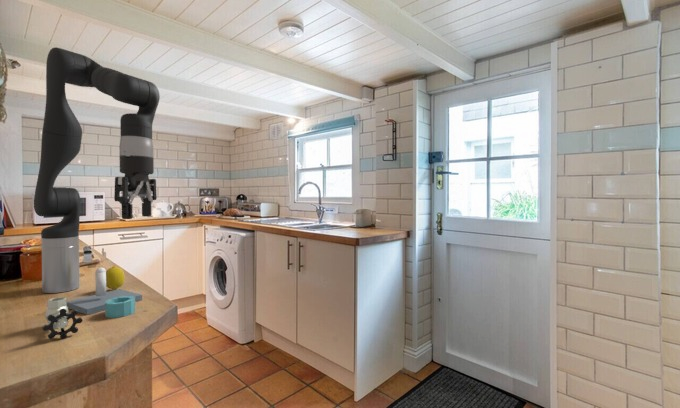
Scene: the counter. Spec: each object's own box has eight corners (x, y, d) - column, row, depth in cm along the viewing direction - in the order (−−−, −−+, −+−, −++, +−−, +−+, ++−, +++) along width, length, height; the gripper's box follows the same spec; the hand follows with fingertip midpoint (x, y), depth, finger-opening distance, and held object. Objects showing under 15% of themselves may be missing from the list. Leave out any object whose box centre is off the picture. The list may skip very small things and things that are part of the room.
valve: (37, 328, 76) (43, 344, 68) (36, 300, 76) (42, 313, 68) (73, 320, 81) (82, 334, 73) (73, 294, 81) (82, 305, 72)
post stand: (65, 307, 90) (64, 269, 89) (119, 293, 102) (119, 260, 102) (87, 315, 84) (86, 274, 84) (142, 299, 96) (141, 264, 96)
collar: (100, 314, 84) (100, 301, 84) (126, 307, 90) (126, 294, 90) (113, 319, 81) (113, 305, 81) (140, 311, 87) (140, 298, 87)
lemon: (114, 293, 102) (114, 268, 102) (99, 292, 103) (99, 267, 103) (129, 288, 107) (128, 264, 107) (115, 287, 109) (114, 263, 108)
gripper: (138, 158, 92) (139, 215, 92) (102, 151, 77) (103, 219, 78) (165, 158, 92) (165, 215, 92) (134, 152, 78) (135, 220, 78)
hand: (137, 217), depth 85 cm, fingers open, 8 cm apart
